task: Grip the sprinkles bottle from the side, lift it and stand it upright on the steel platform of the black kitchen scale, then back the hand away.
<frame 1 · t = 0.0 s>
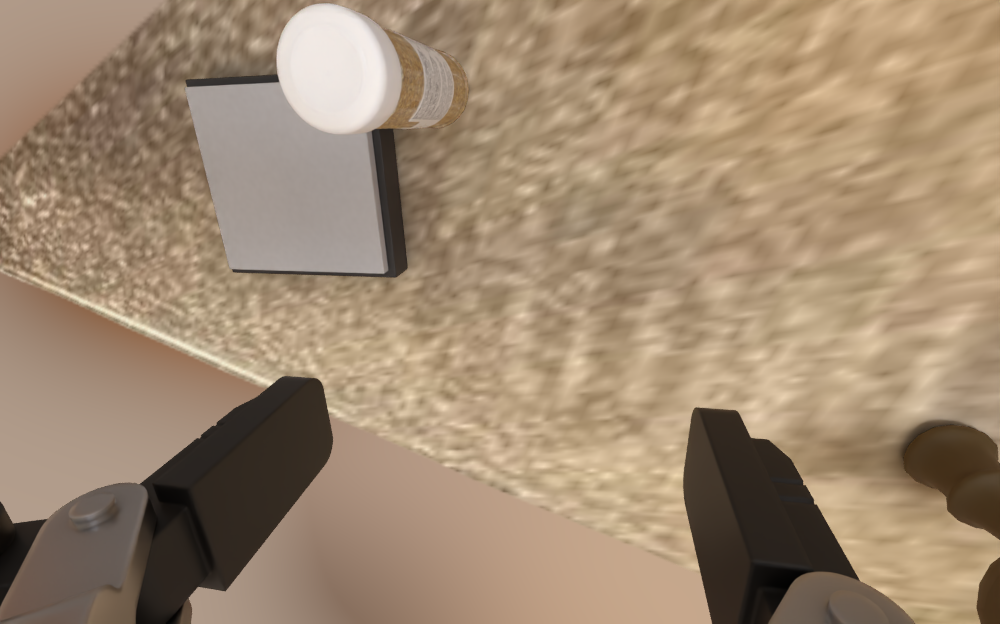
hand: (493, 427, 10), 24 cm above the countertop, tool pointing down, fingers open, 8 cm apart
kitchen scale: (312, 178, 34), on the countertop
sprinkles bottle: (437, 90, 30), on the countertop
kendama: (940, 448, 33), on the countertop
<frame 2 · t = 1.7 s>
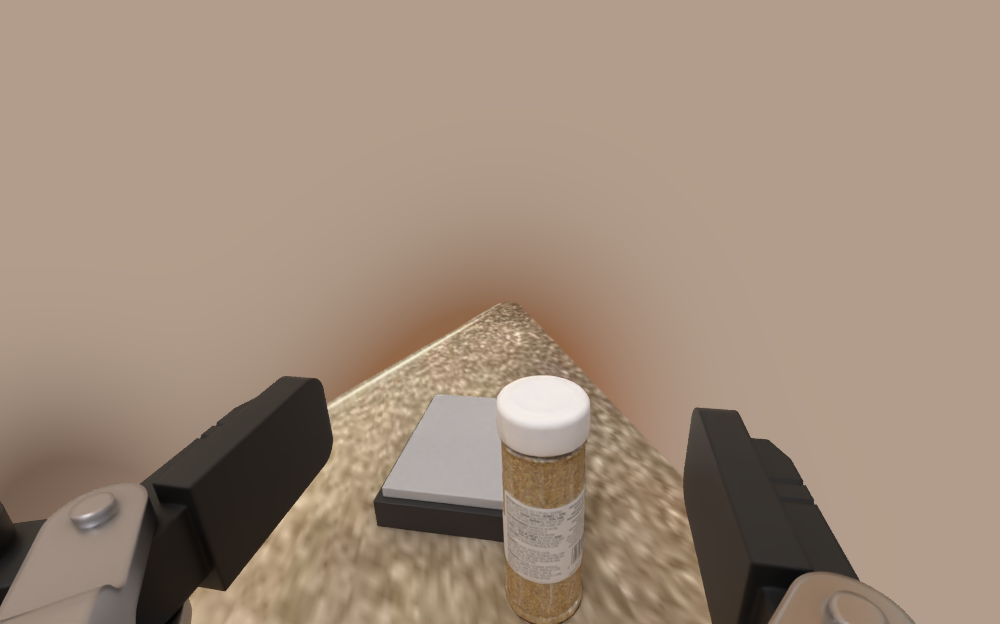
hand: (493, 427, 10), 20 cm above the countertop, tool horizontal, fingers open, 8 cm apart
kitchen scale: (488, 471, 38), on the countertop
sprinkles bottle: (543, 594, 28), on the countertop
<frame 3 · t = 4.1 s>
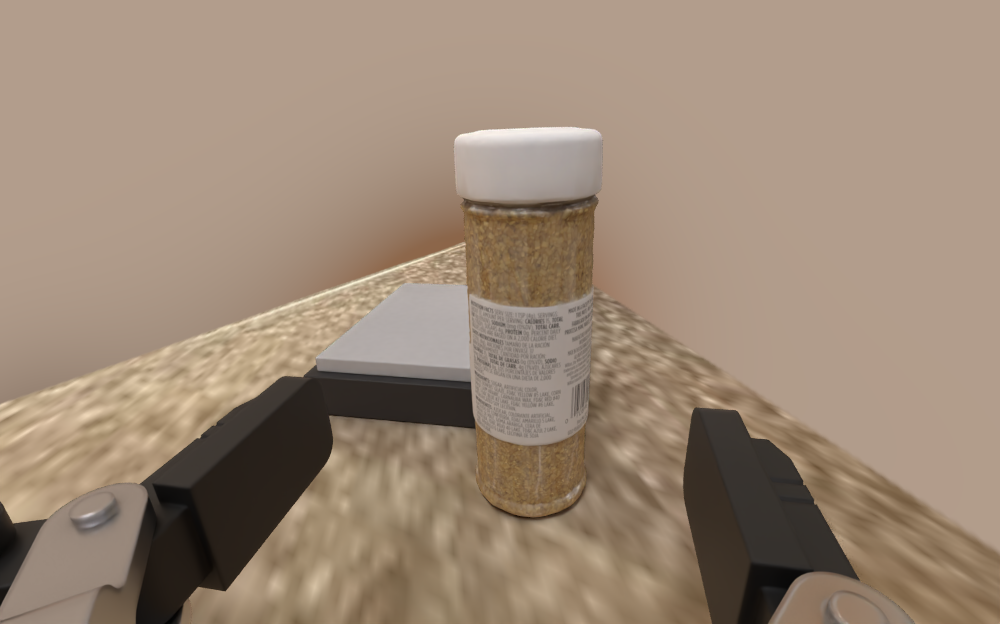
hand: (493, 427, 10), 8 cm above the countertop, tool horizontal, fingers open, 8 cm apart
kitchen scale: (464, 362, 29), on the countertop
sprinkles bottle: (530, 484, 20), on the countertop
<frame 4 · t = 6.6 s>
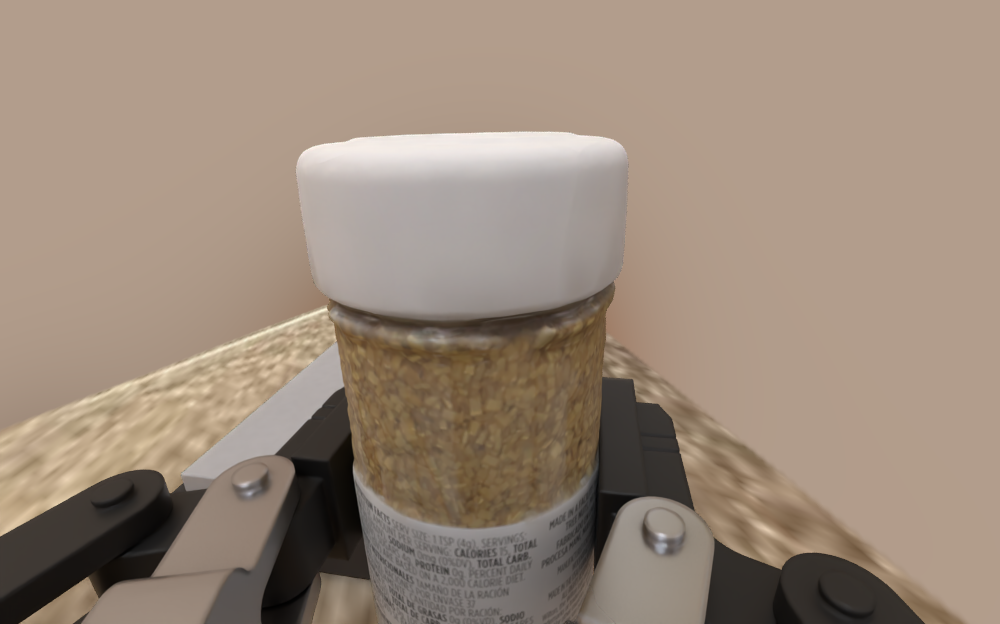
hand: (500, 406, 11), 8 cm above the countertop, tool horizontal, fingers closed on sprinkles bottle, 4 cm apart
kitchen scale: (418, 450, 21), on the countertop
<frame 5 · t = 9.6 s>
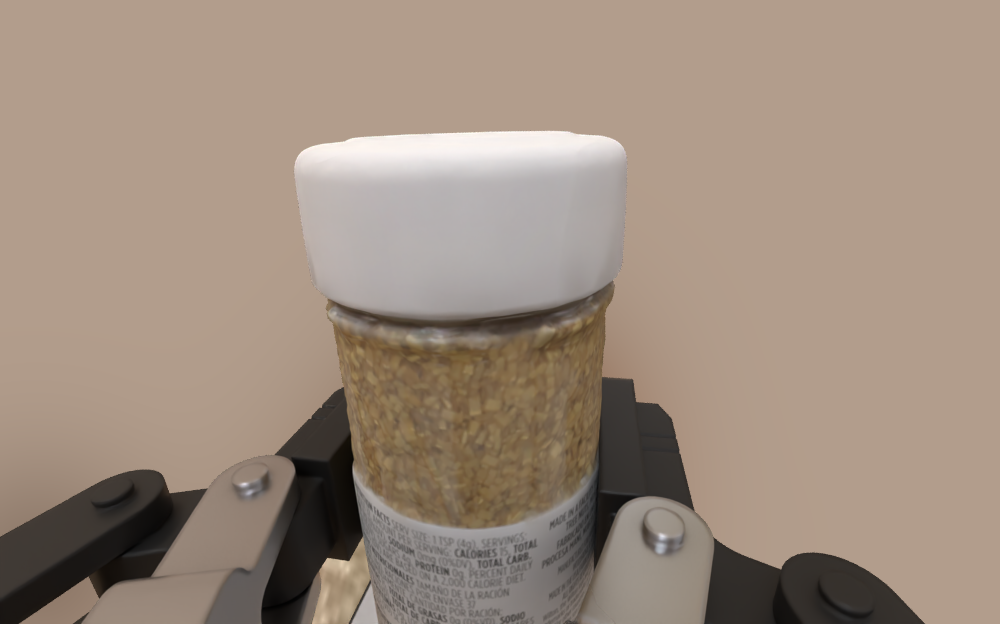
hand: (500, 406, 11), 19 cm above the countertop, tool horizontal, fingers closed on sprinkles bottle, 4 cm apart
when the fingers open (11 cm above the countertop, at t = 13.0 s): sprinkles bottle stays where it is, resting on kitchen scale.
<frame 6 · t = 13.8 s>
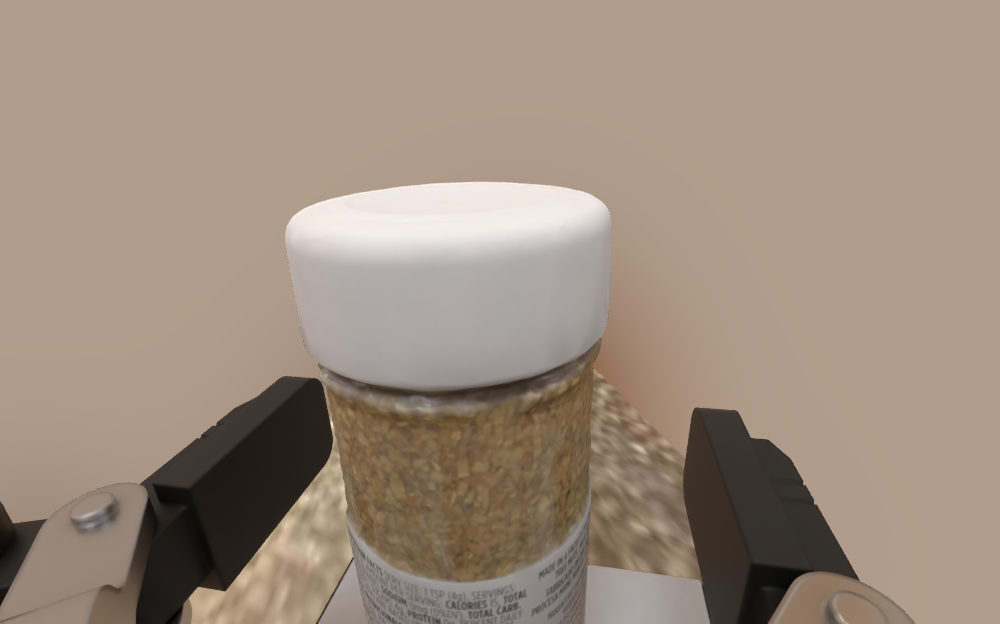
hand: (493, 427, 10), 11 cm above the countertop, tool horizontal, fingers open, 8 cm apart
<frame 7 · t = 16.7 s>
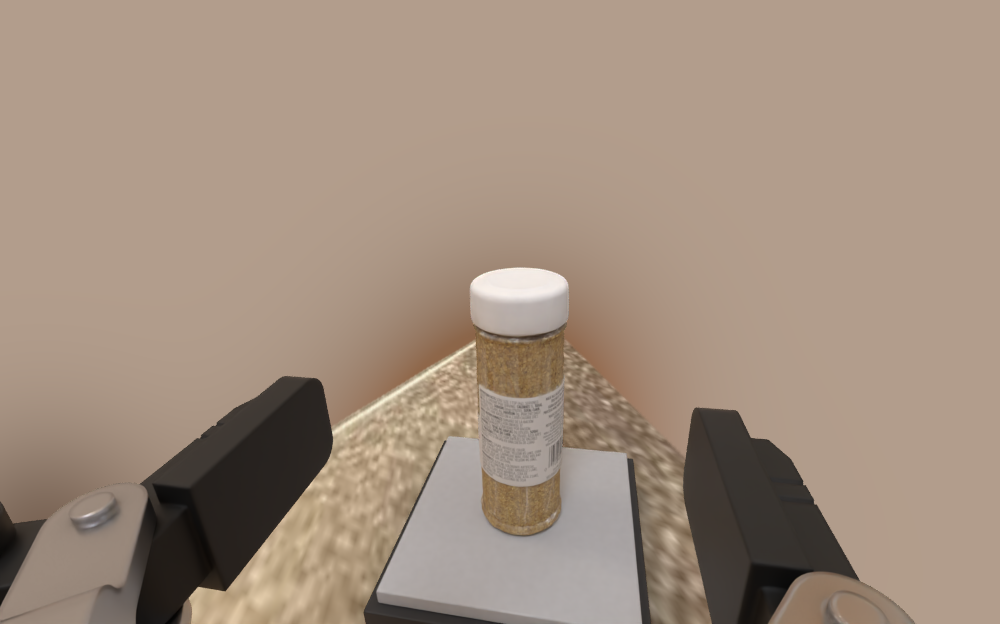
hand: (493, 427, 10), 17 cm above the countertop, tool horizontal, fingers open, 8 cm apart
kitchen scale: (522, 550, 28), on the countertop
sprinkles bottle: (521, 510, 27), point 3 cm above the countertop, touching kitchen scale
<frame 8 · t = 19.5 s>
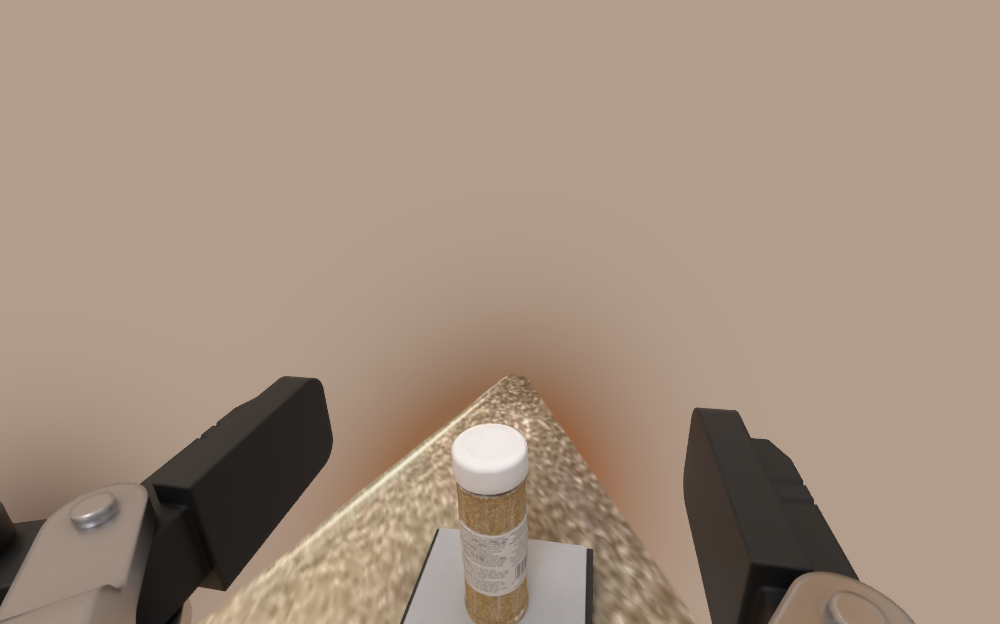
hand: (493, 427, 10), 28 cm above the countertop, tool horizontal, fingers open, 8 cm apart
sprinkles bottle: (496, 604, 33), point 3 cm above the countertop, touching kitchen scale
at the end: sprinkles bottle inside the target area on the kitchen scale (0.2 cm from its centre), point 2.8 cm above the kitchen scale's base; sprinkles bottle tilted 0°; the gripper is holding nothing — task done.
